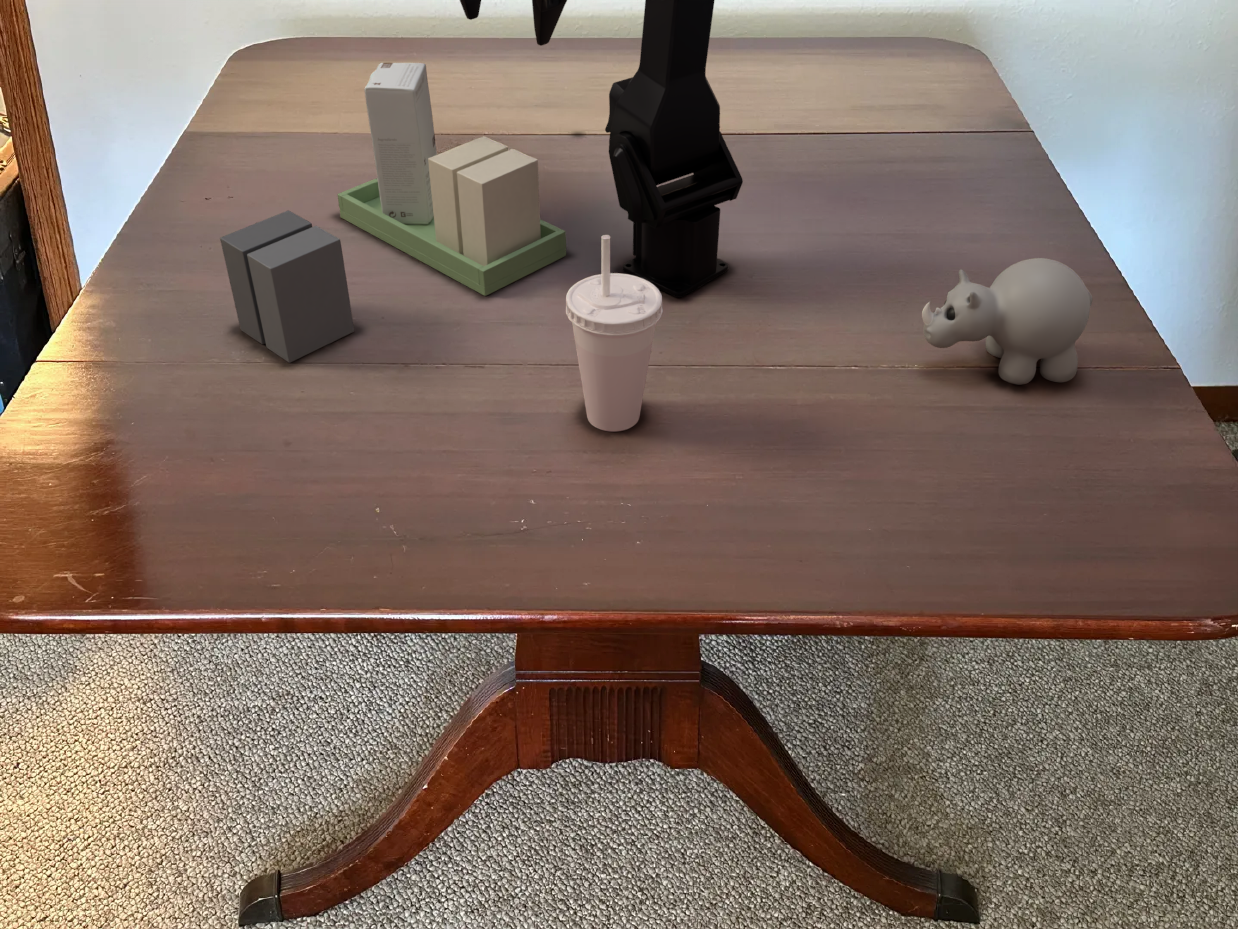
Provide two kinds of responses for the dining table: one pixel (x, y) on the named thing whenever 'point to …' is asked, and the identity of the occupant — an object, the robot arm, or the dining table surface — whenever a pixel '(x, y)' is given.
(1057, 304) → the toy rhinoceros
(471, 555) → the dining table surface
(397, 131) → the cosmetic box
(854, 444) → the dining table surface
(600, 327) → the smoothie
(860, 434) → the dining table surface
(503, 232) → the cream books
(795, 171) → the dining table surface
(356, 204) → the green tray
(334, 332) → the grey books
